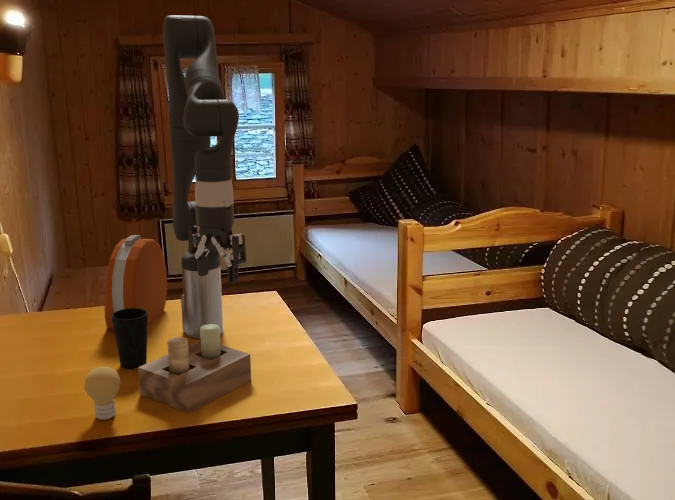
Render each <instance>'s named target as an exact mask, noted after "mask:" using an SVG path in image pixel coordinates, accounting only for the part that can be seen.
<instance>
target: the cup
mask: <svg viewBox="0 0 675 500" xmlns="http://www.w3.org/2000/svg"><path fill="white" fill-rule="evenodd" d="M111 317H112V322H113V328H114V329H113V332H114V337H115V343H116V349H117V355H118V359H119V364H120V368H122V369H124V370H138V367H140V366H142V365H144V364H147V351H148V349H147V348H148V346H147V345H148V327H147V319H148V312H147V311H146V310H144V309H140V308H128V309H122V310H118V311H116V312H114V313H113V314H112V316H111Z"/></svg>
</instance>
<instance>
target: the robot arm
mask: <svg viewBox="0 0 675 500" xmlns="http://www.w3.org/2000/svg"><path fill="white" fill-rule="evenodd" d="M162 39H163V41H162V42H163V48H164V49H163V50H164V57H165V58H164V60H165V68H166V76H167V77H166V78H167V87H168V89H167V90H168V91H167V93H168V123H169V125H168V126H169V128H168V129H169V144H170V154H171V155H170V156H171V166H172V167H171V168H172V169H171V170H172V227H173V232H174V235H175V238H176V239H177V240H178V241H181V242H186V241H188V251H187V252H185V253H184V254H183V255H182V256H181V269H182V270H181V272H182V289H183V294H182V295H180V305H181V321H182V323H181V324H182V332H184V333H185V334H186V336H188V337H189V338H193V339H201V335H200V327H201V326H203V325H207V324H215V325H218V326H219V327H220V335H221V334H223V332H224V322H223V301H222V300H223V299H222V298H223V296H222V277H221V276H222V273H221V258H223V259H224V261H225V262H226V265H227V266H226V279H227V284H228V285H233V284H237V282H238V280H239V278H240V277H239V266H240V265H242V264H245V263H247V252H246V250H247V249H246V238H245V234H244V233H239V234H237V233H234V232H233V229H232V228H233V225H234V223H235V205H234V204H235V203H234V187H233V180H232V152H233V146H234V142H235V136H236V133H237V129H238V126H239V120H240V115H239V114H240V113H239V110H238V107H237V105H236V104H235V102H234V101H232V100H230V99H224V92H223V88H222V85H221V84H222V83H221V81H220V77H219V73H218V57H217V56H218V55H217V44H216V34H215V28H214V26H213V23H212V20H210V18H208V17H207V16H203V15H202V16H201V15H180V14H179V15H178V14H177V15H175V14H174V15H173V14H172V15H167V16H165V17H164V19H163V26H162ZM182 59H183V60H188V59H189V60H193V61H192V63H191V64H190V65H189V67H188V68H187V69H186V72H185V75H184V72H183V70H182V69H183V68H182V66H181V62H180V60H182ZM212 137H219V139H218V142H217V143H216V144H215V145H213V146H211V145H212V142H211V141H212V140H211V138H212ZM194 179H195V186H194V198H195V199H194V201H189V195H190V189H191V186H192V183H193V181H194Z"/></svg>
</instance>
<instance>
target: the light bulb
mask: <svg viewBox="0 0 675 500" xmlns="http://www.w3.org/2000/svg"><path fill="white" fill-rule="evenodd" d="M120 387H121V377H120V375H119V373H118V371H116V369H114V368H112V367H108V366H98V367H96V368H94V369H92V370H91V371H89V372H88V374H87V375H86V377H85V381H84V389H85V393H86V394H87V396H89V397H90V399H91V400H93V401H94V403H93V406H94V416H95V418H97V419H98V420H101V421H102V420H103V421H106V420H109V419H112V418H113V417H114V416H115V415H116V403H115V402H116V401H115V399H114V398H116V396H117V394H118V392H119V390H120Z"/></svg>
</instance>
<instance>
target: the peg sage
mask: <svg viewBox="0 0 675 500" xmlns="http://www.w3.org/2000/svg"><path fill="white" fill-rule="evenodd" d="M200 335H201V338H200V340H201V355H202V357H203V358H206V359H209V360H212V359H215V358H217V357H219V356H221V348H220V345H221V334H220V327H219V326H218V325H215V324H207V325H203V326H201V327H200Z"/></svg>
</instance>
